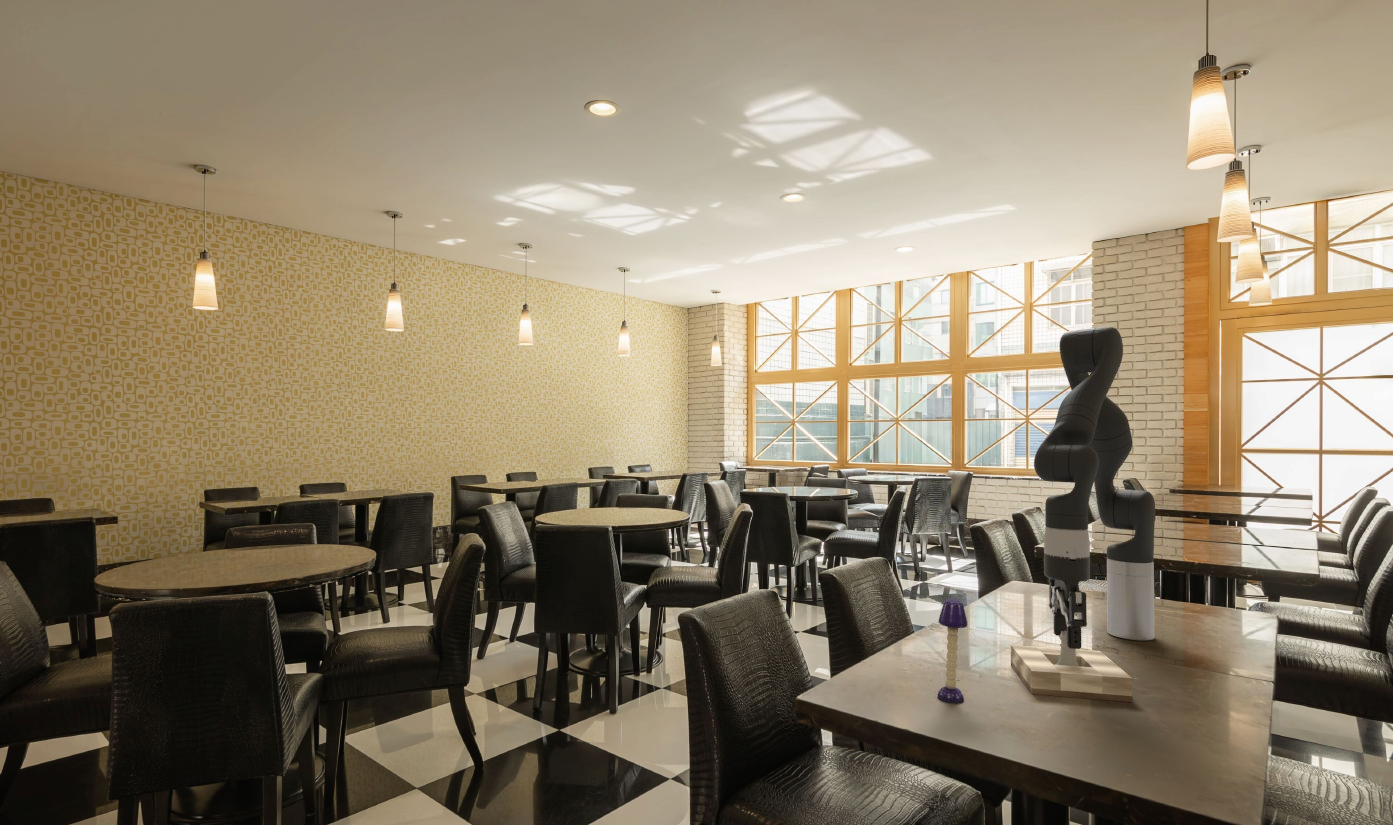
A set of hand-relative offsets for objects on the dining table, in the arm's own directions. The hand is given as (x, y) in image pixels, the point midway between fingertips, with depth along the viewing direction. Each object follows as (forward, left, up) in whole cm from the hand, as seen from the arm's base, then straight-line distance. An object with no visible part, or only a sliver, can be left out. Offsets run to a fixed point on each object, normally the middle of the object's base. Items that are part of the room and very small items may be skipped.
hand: (1067, 641), depth 130 cm
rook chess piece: (0, 0, -7) cm, 7 cm away
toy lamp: (+14, -22, -8) cm, 27 cm away
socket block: (0, 0, -7) cm, 7 cm away
